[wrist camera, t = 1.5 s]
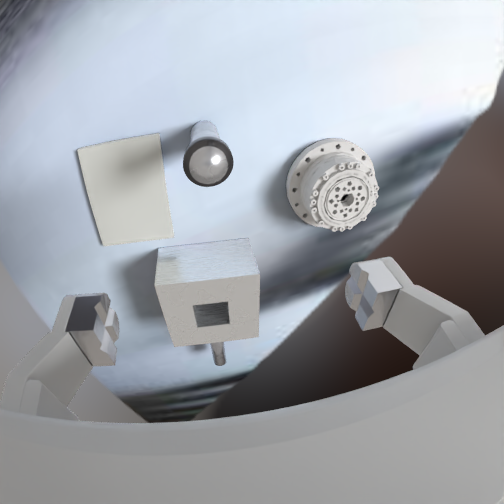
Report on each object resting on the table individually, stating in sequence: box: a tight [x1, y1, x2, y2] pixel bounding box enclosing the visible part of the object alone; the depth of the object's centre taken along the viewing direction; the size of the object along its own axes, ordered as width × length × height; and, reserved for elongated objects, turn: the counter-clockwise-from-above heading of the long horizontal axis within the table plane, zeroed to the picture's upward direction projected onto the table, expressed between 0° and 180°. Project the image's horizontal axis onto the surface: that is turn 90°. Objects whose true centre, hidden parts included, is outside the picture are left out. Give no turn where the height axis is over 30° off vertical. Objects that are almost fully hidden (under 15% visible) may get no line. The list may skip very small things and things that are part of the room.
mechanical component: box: [286, 138, 379, 232], centre depth 28 cm, size 10×4×10 cm
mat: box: [77, 133, 174, 246], centre depth 26 cm, size 11×8×1 cm
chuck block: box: [154, 238, 260, 366], centre depth 35 cm, size 19×10×6 cm, turn 0°
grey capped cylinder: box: [183, 121, 233, 187], centre depth 21 cm, size 3×3×9 cm
